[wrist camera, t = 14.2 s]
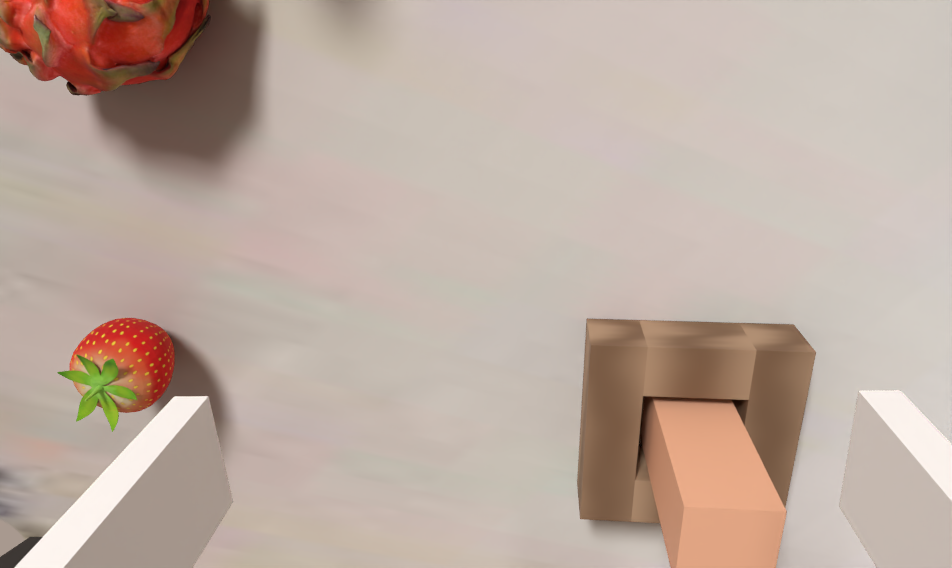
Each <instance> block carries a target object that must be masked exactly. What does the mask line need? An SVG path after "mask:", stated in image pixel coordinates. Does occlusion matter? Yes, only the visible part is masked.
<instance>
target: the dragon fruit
mask: <svg viewBox="0 0 952 568" xmlns="http://www.w3.org/2000/svg"><path fill="white" fill-rule="evenodd" d="M208 6H209V0H0V48H2V49H3V50H4V51H5V52H8V53H10V55H11V56H12V57H13V58H14V59H15V60H16V61H18V62H19V63H21V64H23V65H28V67H29V69H30V72H31V73H32V74H33V75H34V76H35V77H36V78H37V79H38V80H41V81H49V80H53V79H55V78H56V77H58V76H61V77H63V78H65V79H66V80H67V81H68V82H67V88H68V90H69V92H70V93H71V94H73V95H92V94H97V93H100V92H101V91H111V90H115V89H116V88H118V87H119V86H120V85H130V84H140V83H142V82H147V81H151V80H158V79H160V80H167V79H169V78H171V77H172V76H173V75H174V74H175V73H176V71H177V70H178V67H179V65H180V63H181V62H182V61H183V59H184V58H185V55H186V53H187V52H188V51H189V49H191V47H192V46H193V45H194V41H195V39H196V38H197V37H199V36H200V35H201V33H202V32H203V30H204V29H205V28H206V26H207V25H208V24H209V21H210V18H211V17H210V16H209V15H208V16H207V17H206V13H207V9H208ZM205 17H206V18H205Z"/></svg>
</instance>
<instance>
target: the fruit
mask: <svg viewBox="0 0 952 568" xmlns="http://www.w3.org/2000/svg"><path fill="white" fill-rule="evenodd" d="M174 360H175V353H174V346H173V343H172V341H171V339H170V337H169V335H168V334H167V333H166V332H165V331H164V330H163V329H162V328H160V327H159V326H157V325H155V324H153V323H151V322H148V321H145V320H141V319H136V318H121V319H115V320H112V321H109V322H107V323H104V324H102V325H100V326H99V327H97V328H96V329H94V330H93V331H92V332H90V333H89V334H88V335H87V336H86V337H85V338H84V339H83V340H82V341H81V342H80V344H79V345H78V347H77V348H76V350H75V351H74V352H73V355H72V358H71V361H70V371H64V372H58V374H60V375H62V376H64V377H66V378H68V379H70V380H72V381H73V382H74V385H75V387H76V389H77V390H78V392H79V393H80V394H81V395H82V396H83V398H82V400H81V402H80V406H79V412H78V417H77V420H76V421H79V420H81V419H83V418H84V417H86V416H88V415H89V414H90V413H92V412H93V410H94V409H95V407H96V405H97V406H99V407H101V408H103V410H104V413H105V415H106V417H107V419H108V421H109V423H110V426H111V429H112V432H113V430H114V428H115V426H116V424H117V422H118V417H119V415H118V412H125V413H128V412H137V411H141V410H143V409H145V408H147V407H149V406H151V405H152V404H153V403H155V402H156V401H157V400H158V399H159V398H160V397H161V396H162V395H163V393H164V392H165V390H166V389H167V387H168V385H169V383H170V381H171V378H172V374H173V369H174Z"/></svg>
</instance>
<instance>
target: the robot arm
mask: <svg viewBox="0 0 952 568" xmlns="http://www.w3.org/2000/svg"><path fill="white" fill-rule="evenodd" d="M232 503H233V499H232V495H231V490H230V486H229V482H228V477H227V473H226V469H225V465H224V460H223V456H222V452H221V447H220V443H219V439H218V434H217V430H216V426H215V422H214V417H213V413H212V409H211V404H210V400H209V396H174V397H173V398H172V399H171V400H170V401H169V403H168V404H167V405H166V406H165V407H164V408H163V409H162V410H161V411H160V412H159V413H158V414H157V415H156V416H155V418H154V419H153V420H152V421H151V422H150V423H149V424H148V425H147V426H146V427H145V428H144V429H143V430H142V431H141V433H140V434H139V435H138V436H137V437H136V438H135V439H134V440H133V441H132V442H131V443H130V444H129V445H128V446H127V448H126V449H125V450H124V451H123V452H122V453H121V454H120V455H119V456H118V457H117V458H116V459H115V460H114V461H113V463H112V464H111V465H110V466H109V467H108V468H107V469H106V470H105V471H104V472H103V473H102V474H101V475H100V476H99V477H98V479H97V480H96V481H95V482H94V483H93V484H92V485H91V486H90V487H89V488H88V489H87V490H86V491H85V492H84V494H83V495H82V496H81V497H80V498H79V499H78V500H77V501H76V502H75V503H74V504H73V505H72V506H71V507H70V509H69V510H68V511H67V512H66V513H65V514H64V515H63V516H62V517H61V518H60V519H59V520H58V521H57V522H56V524H55V525H54V526H53V527H52V528H51V529H50V530H49V531H48V532H47V533H46V534H45V535H44V536H43V537H29V538H28V539H26V540H25V541H23V542H22V543H20V544H19V545H18V546H16V547H14V548H13V549H12V550H10V551H9V552H7V553H6V554H4V555H3V556H1V557H0V568H193V566H194V565H195V563H196V561H197V560H198V558H199V556H200V555H201V553H202V552H203V550H204V548H205V547H206V545H207V543H208V542H209V540H210V539H211V537H212V535H213V534H214V532H215V530H216V529H217V527H218V526H219V524H220V522H221V521H222V519H223V517H224V516H225V514H226V513H227V511H228V509H229V508H230V506H231V504H232ZM839 507H840V509H841V510H842V512H843V513H844V515H845V517H846V518H847V520H848V522H849V523H850V525H851V527H852V528H853V530H854V532H855V533H856V535H857V536H858V538H859V540H860V541H861V543H862V545H863V546H864V548H865V550H866V551H867V553H868V555H869V556H870V558H871V559H872V561H873V563H874V564H875V566H876V568H952V444H951V443H950V442H949V441H948V440H947V439H946V438H945V437H944V436H943V435H942V433H941V432H940V431H939V430H938V429H937V428H936V427H935V426H934V425H933V424H932V423H931V422H930V421H929V420H928V419H927V418H926V417H925V416H924V415H923V414H922V413H921V411H920V410H919V409H918V408H917V407H916V406H915V405H914V404H913V403H912V402H911V401H910V400H909V399H908V398H907V397H906V396H905V395H904V394H903V393H902V392H901V391H900V390H880V391H858V397H857V402H856V408H855V414H854V420H853V426H852V432H851V438H850V444H849V450H848V456H847V461H846V467H845V473H844V479H843V485H842V491H841V497H840V503H839Z"/></svg>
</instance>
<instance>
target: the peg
mask: <svg viewBox="0 0 952 568" xmlns="http://www.w3.org/2000/svg"><path fill="white" fill-rule="evenodd" d="M640 439H641V443H642V447H643V451H644V456H645V460H646V464H647V468H648V473H649V477H650V481H651V485H652V490H653V494H654V498H655V502H656V507H657V511H658V515H659V519H660V524H661V528H662V532H663V536H664V541H665V545H666V549H667V553H668V558H669V562H670V566H671V568H776V563H777V558H778V553H779V548H780V543H781V538H782V533H783V528H784V523H785V518H786V513H787V511H786V509H785V507H784V505H783V503H782V501H781V499H780V497H779V495H778V493H777V491H776V489H775V487H774V485H773V483H772V481H771V479H770V477H769V475H768V473H767V471H766V469H765V467H764V465H763V463H762V461H761V458H760V456H759V454H758V452H757V450H756V448H755V446H754V444H753V442H752V440H751V438H750V436H749V434H748V432H747V430H746V428H745V426H744V424H743V422H742V420H741V418H740V416H739V414H738V412H737V410H736V408H735V406H734V404H733V402H732V400H731V399H709V398H683V397H656V396H644V403H643V413H642V423H641V434H640Z"/></svg>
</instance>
